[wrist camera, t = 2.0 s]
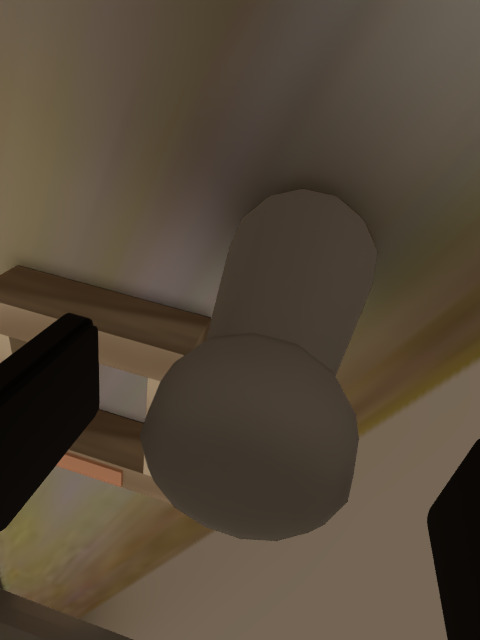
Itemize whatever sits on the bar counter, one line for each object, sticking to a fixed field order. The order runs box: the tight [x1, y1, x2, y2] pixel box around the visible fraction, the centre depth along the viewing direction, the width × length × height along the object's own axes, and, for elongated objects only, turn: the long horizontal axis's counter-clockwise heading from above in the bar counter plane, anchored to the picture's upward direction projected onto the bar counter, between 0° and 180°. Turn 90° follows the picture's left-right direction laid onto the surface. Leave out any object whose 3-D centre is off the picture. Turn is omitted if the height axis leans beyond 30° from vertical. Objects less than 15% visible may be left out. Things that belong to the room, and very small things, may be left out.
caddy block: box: [0, 266, 211, 503], centre depth 23 cm, size 12×11×4 cm
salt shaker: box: [140, 189, 378, 541], centre depth 13 cm, size 6×6×13 cm
